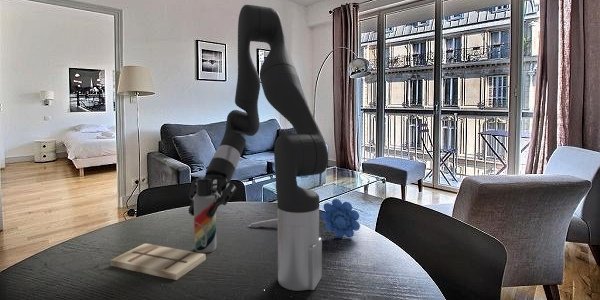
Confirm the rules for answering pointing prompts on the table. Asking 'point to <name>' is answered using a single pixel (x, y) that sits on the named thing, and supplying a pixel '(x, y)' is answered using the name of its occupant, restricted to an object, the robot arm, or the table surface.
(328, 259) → the table surface
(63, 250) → the table surface
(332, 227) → the blue flower
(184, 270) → the oak board
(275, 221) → the caliper
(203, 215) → the lotion bottle
